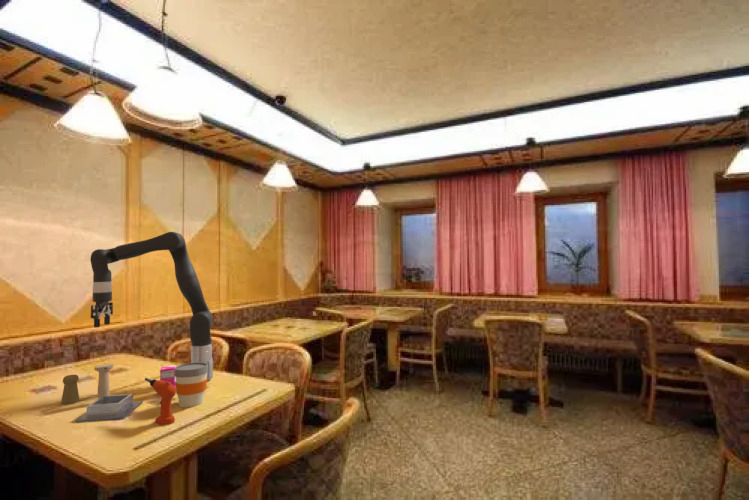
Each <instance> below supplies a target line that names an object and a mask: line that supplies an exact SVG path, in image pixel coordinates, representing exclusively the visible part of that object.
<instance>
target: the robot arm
mask: <svg viewBox="0 0 749 500" xmlns="http://www.w3.org/2000/svg"><path fill="white" fill-rule="evenodd" d="M157 251H169V253H170V255H171V257H172V260H173V262H174V263H173V264H174V274H175V280H176V282H177V284H178V288H179V290H180V292H181V295H182V296H183V297H184V299H185V300H186V301H187V303H188V304H189V306H190V309H191V312H192V316H191V319H190V322H189V339H190V342H191V343H190V344H191V345H190V347H191V351H190V352H191V354H190V355H191V357H190V358H191V359H190V363H195V362H203V363H207V364H208V372H207V382H208V381H211V380H212V378H213V377H214V358H213V357H212V356H213V351H212V349H213V348H212V347H213V344H212V343H213V340H212V336H211V326H212V324H213V323H214V317H213V315H212V312H211V311H210V308H209V306H208V304H207V302H206V300H205V296H204V294H203V290H202V286H201V284H200V281H199V278H198V275H197V273H196V270H195V268H194V266H193V263H192V261H191V259H190V256H189V253H188V249H187V245H186V239H185V238H184V236H183V235H182V234H181V233H178V232H175V231H168V232H165V233H163V234H160V235H157V236H154V237H151V238H149V239H144V240H140V241H135V242H129V243H126V244H121V245H117V246H115V247H113V248H107V249H102V248H101V249H100V248H99V249H95V250H93V251H92V252H91V255H90V265H91V269H92V273H93V276H92V279H93V281H92V299H91V300H92V302H93V303H95V304H91V305H90V319H93V327H94V328H100V327H101V317H102V316H104V317H103V319H104V320H103V323H104V325H110V324H111V317H112V315H113V314H114V304H113V303H114V302H112V301H113V284H112V271H111V269H109V264H113V263H116V262H119V261H123V260H128V259H132V258H136V257H141V256H142V255H145V254H149V253H152V252H157Z"/></svg>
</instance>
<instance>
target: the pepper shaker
mask: <svg viewBox="0 0 749 500" xmlns="http://www.w3.org/2000/svg"><path fill="white" fill-rule="evenodd" d="M78 381H79V376H78V375H77V374H68V375H65V376H64V377H63V378H62V384H63V391H62V397H61V401H60V404H61V405H64V406H65V405H71V404H75V403H78V402H79V401H80V396H79V395H80V393H79V387H78Z"/></svg>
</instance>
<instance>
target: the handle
mask: <svg viewBox="0 0 749 500" xmlns="http://www.w3.org/2000/svg"><path fill="white" fill-rule="evenodd" d="M113 368H114V363H104V364H97V365H95V366H94V369H93V370H94V371H96V372H98V381H97V383H98V385H97V399H99V398H100V397H102V396H107V395H110V370H112V369H113Z"/></svg>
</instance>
